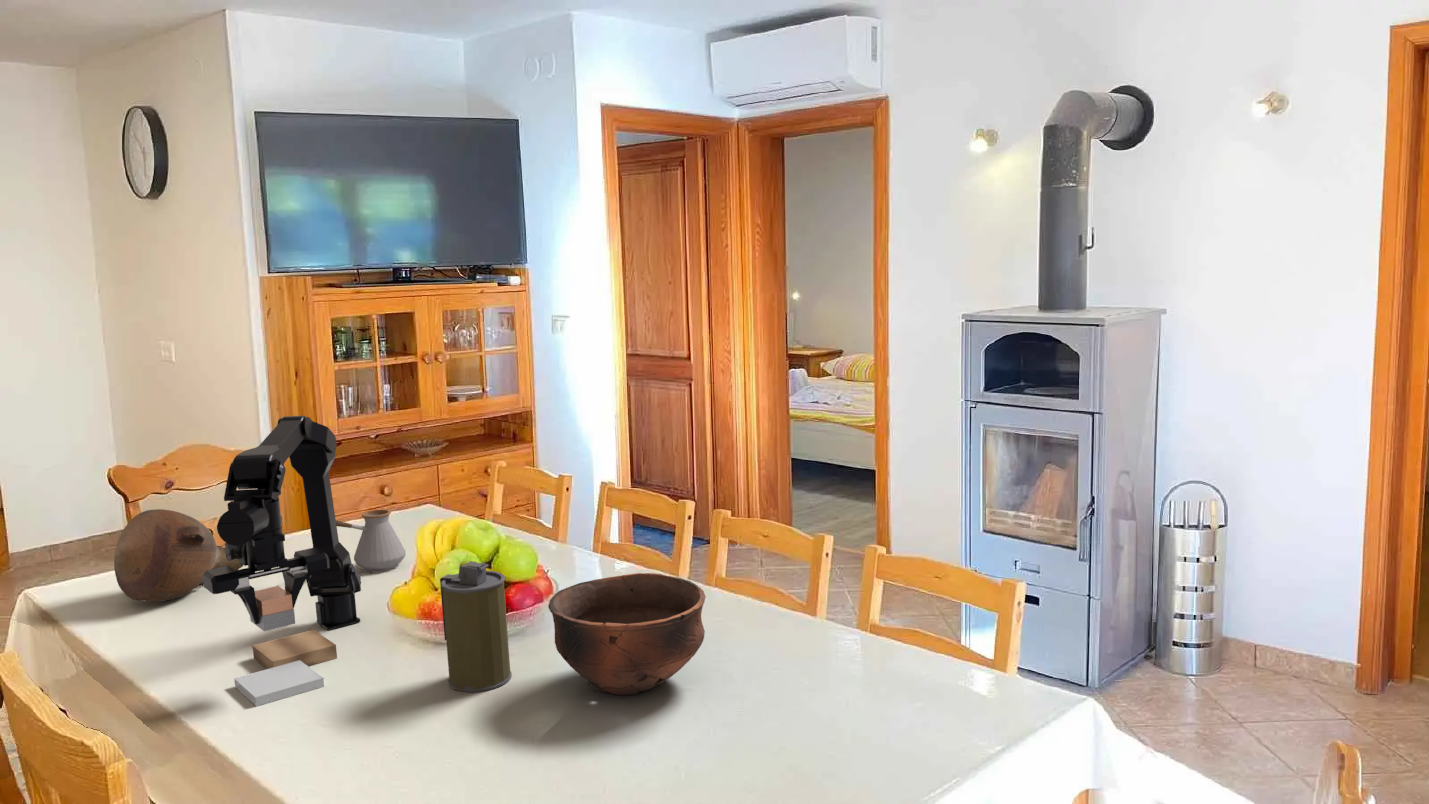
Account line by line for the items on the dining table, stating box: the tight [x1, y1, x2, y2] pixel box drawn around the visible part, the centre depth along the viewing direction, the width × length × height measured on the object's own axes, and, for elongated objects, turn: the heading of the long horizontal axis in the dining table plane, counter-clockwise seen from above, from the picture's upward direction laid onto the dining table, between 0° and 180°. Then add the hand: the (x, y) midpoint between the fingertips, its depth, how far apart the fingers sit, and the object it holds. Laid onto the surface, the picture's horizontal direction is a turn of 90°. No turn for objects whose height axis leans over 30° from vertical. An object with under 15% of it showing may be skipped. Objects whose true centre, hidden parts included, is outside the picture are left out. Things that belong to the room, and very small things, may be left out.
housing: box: [249, 585, 296, 632], centre depth 178 cm, size 7×5×5 cm
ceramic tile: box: [233, 660, 325, 707], centre depth 180 cm, size 11×11×2 cm
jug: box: [113, 508, 244, 602], centre depth 233 cm, size 20×20×30 cm
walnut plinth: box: [251, 629, 338, 670], centre depth 193 cm, size 11×11×2 cm
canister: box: [439, 560, 513, 693], centre depth 179 cm, size 11×10×20 cm
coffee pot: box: [336, 509, 407, 573], centre depth 243 cm, size 21×12×15 cm, turn 146°
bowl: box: [547, 572, 707, 696], centre depth 175 cm, size 25×25×15 cm
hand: (272, 619), depth 179 cm, fingers closed on housing, 5 cm apart
